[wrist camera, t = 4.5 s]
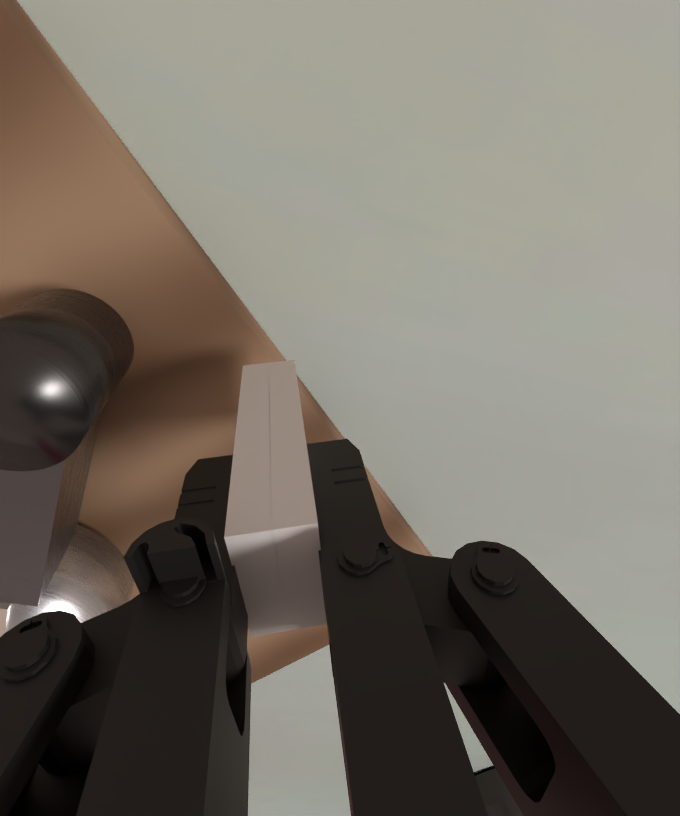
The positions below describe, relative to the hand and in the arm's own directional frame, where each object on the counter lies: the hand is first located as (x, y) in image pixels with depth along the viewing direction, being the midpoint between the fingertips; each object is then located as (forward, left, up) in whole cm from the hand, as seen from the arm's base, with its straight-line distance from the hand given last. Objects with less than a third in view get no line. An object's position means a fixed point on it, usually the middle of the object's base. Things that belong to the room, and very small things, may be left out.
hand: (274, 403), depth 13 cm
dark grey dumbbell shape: (+1, +9, -1) cm, 9 cm away
